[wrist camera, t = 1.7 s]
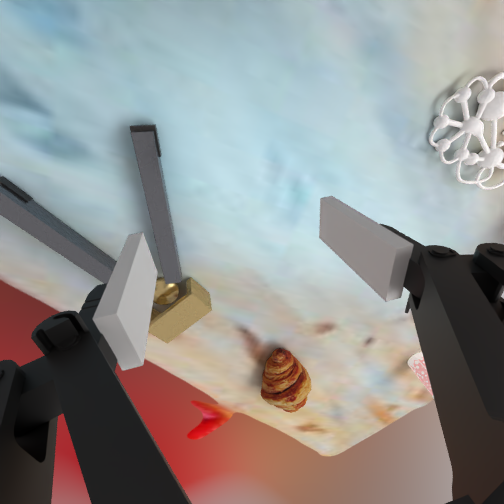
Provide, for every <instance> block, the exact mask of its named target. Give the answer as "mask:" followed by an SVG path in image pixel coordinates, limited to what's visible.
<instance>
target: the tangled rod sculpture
mask: <svg viewBox="0 0 504 504" xmlns="http://www.w3.org/2000/svg"><path fill="white" fill-rule="evenodd" d="M500 79H504V72H500V73H499V74H497V75H495V76H494V77H493V78H492V79H490V80H489V81H488V82H487V81H486V79H485V78H484V77H482V76H476V77H474V78H472V79H471V80H470V81H469V82H468V83H467V84H466V86H465V87H462V88H460V89H458V90H457V91H456V92H455V94H454V95H452V96H450V97H449V98H448V99H447V100H445V101H444V103H443V104H442V106H441V108H440V111H439V116H438V117H437V118H436V119H435V120H434V123H433V124H434V127H435V128H434V129H433V131H432V132H431V134H430V136H429V142H430V144H431V145H432V146H435V149H436V150H437V151H439V155H440V159H441V161H442V162H443V163H445V164H452V163H453V162H455V161H458V162H457V166H456V179H457V180H458V181H459V182H461V183H464V184H476V185H477V186H478V187H479V188H481V189H484V190H490V189H495V188H497V187H499V186H501V185H503V184H504V180H503V181H502V182H500V183H499V184H496V185H494V186H490V187H485V186H483V185H482V184H481V182H484V181H486V180H488V179H489V178H490V177H491V176H492V174H493V171H494V167H495V166H496V167H497V168H500V169H504V164H503V163H501V161H502V160H503V157H504V153H503V151H502V150H501V149H500V148H498V147H501V146H504V142H503V141H499V142H497V143H496V136H497V119H499V118H501V117H503V116H504V91H498V92H495V90H493V89H492V86H493V85H494V83H496V82H497V81H498V80H500ZM476 80H479V81H481V82H482V84H483V86H484V90H483V91H481V92H480V93H479V95H478V97H477V101H478V103H480V104H479V106H478V112H477V114H476V116H474V117H470V116H469V110H468V104H467V99H469V97H470V95H471V89H470V88H469V86H470V85H471V84H472V83H473V82H474V81H476ZM452 99H454V100H455V101H456V102H458V103H461V105H462V111H463V117H464V120H463V121H462V122H458V121H455V120H451V119H449V117H448V116H447V115H443V111H444V107H445V106H446V104H447V103H448V102H449V101H450V100H452ZM480 118H481V119H483V120H486V121H491V147H488V145H487V143H486V141H485V139H484V137H483V135H482V134H483V131H484V124H483V122H482V121H481V120H480ZM447 125H450V126H454V127H458V128H459V129H460V131H459V132H458V133H456V134H455V135H454V136H452V137H451V138H450V139H441V140H439V141H438V142H437V143H435V142H433V135H434V134H435V132H436V131H437V130H438V129H442V128H445V127H446V126H447ZM464 133H466V136H465V139H464V141H463V144H462V147H461V148H460V149H458V150H457V151H456V152H455V153H454V159H453V160H451V161H446V160H445V158H444V156H443V152H444V151H446V150H447V149H448V148H449V147H450V143H452V142H453V141H454V140H456V139H457V138H458V137H460V136H461V135H462V134H464ZM502 134H503V135H504V131H503V132H502ZM471 135H473V136H477V138H478V140H479V142H480V144H481V146H482V148H483V150H482V151H481V152H479V154H476V153H469V150H468V149H466V148H467V145H468V142H469V140H470V137H471ZM496 146H497V147H496ZM462 161H463V162H464V163H465V164H466V165H474V164H475V163H477V165H478V166H479V167H481V169H480V170H479V171H478V173H477V175H476V177H475V181H466V180H462V179H461V177H460V174H459V173H460V166H461V162H462ZM486 168H489V169H490V171H489V174H488V176H487V177H485V178H484V179H481V180H479V178H480V175H481V173H482V172H483V171H484V170H485V169H486Z"/></svg>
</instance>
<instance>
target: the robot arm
mask: <svg viewBox="0 0 504 504" xmlns="http://www.w3.org/2000/svg"><path fill="white" fill-rule="evenodd" d="M319 238H320V239H321V240H322V241H323V242H324V243H325V244H326V245H327V246H328V247H329V248H330V249H332V250H333V251H334V252H335V253H336V254H337V255H338V256H339V257H340V258H341V259H342V260H343V261H344V262H345V263H346V264H347V265H348V266H349V267H350V268H351V269H352V270H353V271H354V272H355V273H356V274H358V275H359V276H360V277H361V278H362V279H363V280H364V281H365V282H366V283H367V284H368V285H369V286H370V287H371V288H372V289H373V290H374V291H375V292H376V293H377V294H378V295H379V296H380V297H381V298H383V299H384V300H385V301H390V300H394V299H398V298H401V295H402V291H403V287H405V288H406V289H407V290H408V291H410V294H409V298H408V302H407V305H406V309H405V313H408V311H409V309H410V308H411V311H412V315H413V319H414V323H415V327H416V330H417V334H418V338H419V342H420V346H421V350H422V354H423V357H424V361H425V365H426V369H427V373H428V377H429V380H430V384H431V388H432V392H433V396H434V400H435V403H436V407H437V411H438V414H439V419H440V423H441V427H442V430H443V434H444V438H445V442H446V446H447V449H448V453H449V457H450V461H451V465H452V471H453V483H452V496H453V501H451V502H448V503H446V504H504V299H503V298H502V297H501V295H502V293H503V291H504V245H503V244H498V243H484V244H480V245H478V246H477V248H476V251H475V253H474V254H473V255H459V254H458V253H457V252H456V251H454V250H452V249H450V248H447V247H444V246H437V245H429V246H424V245H422V244H420V243H418V242H417V241H415V240H413V239H411V238H410V237H408V236H405V235H404V234H403V233H401V232H399V231H397V230H396V229H394V228H392V227H390V226H387V225H383V224H378V223H377V222H375V221H373V220H371V219H370V218H368V217H366V216H365V215H363V214H361V213H360V212H358V211H356V210H355V209H353V208H351V207H350V206H348V205H346V204H345V203H343V202H341V201H340V200H338V199H336V198H335V197H333V196H329V197H324V198H320V233H319ZM157 273H158V272H157V269H156V267H155V264H154V261H153V258H152V256H151V253H150V250H149V248H148V245H147V242H146V239H145V237H144V234H143V232H141V233H136V234H131V235H128V237H127V240H126V242H125V244H124V247H123V249H122V251H121V254H120V256H119V258H118V261H117V263H116V265H115V268H114V270H113V272H112V275H111V277H110V279H109V282H108V283H106V284H102V285H97V286H96V287H95V288H94V289H93V290H92V291H91V292H90V293H89V294H88V296H87V298H86V300H85V303H84V304H83V306H82V308H81V309H82V310H80V312H79V313H77V312H76V311H64V312H60V313H58V314H55V315H53V316H51V317H49V318H48V319H46V320H44V321H43V322H42V323H40V324H39V325H38V326H37V327H36V328H35V330H34V331H33V332H32V337H31V338H32V340H33V341H34V342H35V343H36V345H37V346H38V347H39V348H40V350H41V351H42V352H43V354H44V355H45V356H43V357H41V358H39V359H36V360H34V361H32V362H30V363H27V364H25V365H23V366H21V367H19V366H18V365H17V364H16V362H14V361H12V360H3V361H0V504H51V498H52V485H53V472H54V459H55V446H56V433H57V420H58V416H59V415H61V414H62V413H63V414H64V417H65V420H66V423H67V426H68V430H69V433H70V436H71V439H72V442H73V446H74V449H75V452H76V455H77V459H78V462H79V465H80V468H81V471H82V474H83V477H84V481H85V484H86V487H87V490H88V494H89V497H90V500H91V503H92V504H192V503H191V501H190V500H189V498H188V496H187V495H186V493H185V491H184V490H183V488H182V486H181V484H180V483H179V481H178V479H177V477H176V476H175V474H174V473H173V471H172V469H171V467H170V465H169V464H168V462H167V460H166V459H165V457H164V455H163V453H162V452H161V450H160V448H159V447H158V445H157V443H156V441H155V440H154V438H153V436H152V435H151V433H150V431H149V429H148V428H147V426H146V425H145V423H144V421H143V419H142V418H141V416H140V414H139V412H138V411H137V409H136V407H135V406H134V404H133V402H132V400H131V399H130V397H129V395H128V393H127V392H126V390H125V388H124V387H123V385H122V383H121V382H120V380H119V378H118V376H117V375H116V373H115V368H116V364H117V362H118V363H119V365H120V367H121V369H122V370H127V369H130V368H135V367H138V366H142V365H143V363H144V356H145V350H146V344H147V337H148V331H149V324H150V318H151V312H152V305H153V299H154V292H155V286H156V280H157Z"/></svg>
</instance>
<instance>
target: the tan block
mask: <svg viewBox="0 0 504 504" xmlns="http://www.w3.org/2000/svg"><path fill="white" fill-rule="evenodd" d="M211 310H212V308H211V301H210V294H209V292H207V291H206V290H205V289H204V288H203V287H202V286H200V285H199V284H198V283H197V282H196V281H194V280H193V279H192V278H189V279H188V280H187V294H186V295H185V296H183V297H182V298H181V299H179V300H178V301H177V302H175V303H174V304H173V305H172V306H170V307H169V308H168V309H166V310H165V311H164V312H163V313H160V312H158V311H157V310H155V309H154V308H152V312H151V318H150V324H149V331H148V332H149V333H151V334H153V335H154V336H156V337H158V338H159V339H161V340H162V341H164V342H166V343H169V342H170V341H171V340H173V339H174V338H175V337H177V336H178V335H179V334H181V333H182V332H183V331H185V330H186V329H187V328H189V327H190V326H191V325H193V324H194V323H195V322H197V321H198V320H199V319H201V318H202V317H203V316H205V315H206V314H207V313H209V312H210V311H211Z"/></svg>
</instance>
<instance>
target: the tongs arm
mask: <svg viewBox="0 0 504 504" xmlns="http://www.w3.org/2000/svg"><path fill="white" fill-rule="evenodd" d="M130 130H131V135H132V140H133V144H134V148H135V153H136V157H137V161H138V166H139V170H140V174H141V179H142V183H143V187H144V192H145V196H146V201H147V205H148V209H149V214H150V218H151V222H152V227H153V231H154V235H155V240H156V244H157V248H158V253H159V257H160V262H161V266H162V270H163V275H164V279H165V283H166V284H171V283H178V282H181V280H182V273H181V267H180V262H179V257H178V251H177V246H176V240H175V235H174V230H173V224H172V219H171V214H170V208H169V203H168V198H167V192H166V187H165V182H164V176H163V171H162V166H161V160H160V157H161V150H160V144H159V139H158V134H157V128H156V125H131V126H130Z"/></svg>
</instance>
